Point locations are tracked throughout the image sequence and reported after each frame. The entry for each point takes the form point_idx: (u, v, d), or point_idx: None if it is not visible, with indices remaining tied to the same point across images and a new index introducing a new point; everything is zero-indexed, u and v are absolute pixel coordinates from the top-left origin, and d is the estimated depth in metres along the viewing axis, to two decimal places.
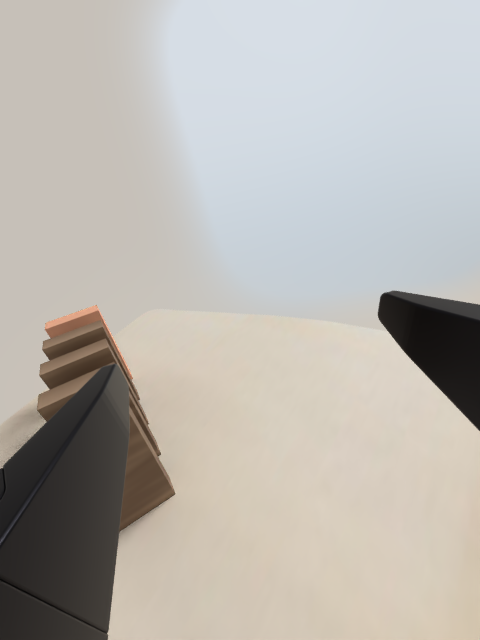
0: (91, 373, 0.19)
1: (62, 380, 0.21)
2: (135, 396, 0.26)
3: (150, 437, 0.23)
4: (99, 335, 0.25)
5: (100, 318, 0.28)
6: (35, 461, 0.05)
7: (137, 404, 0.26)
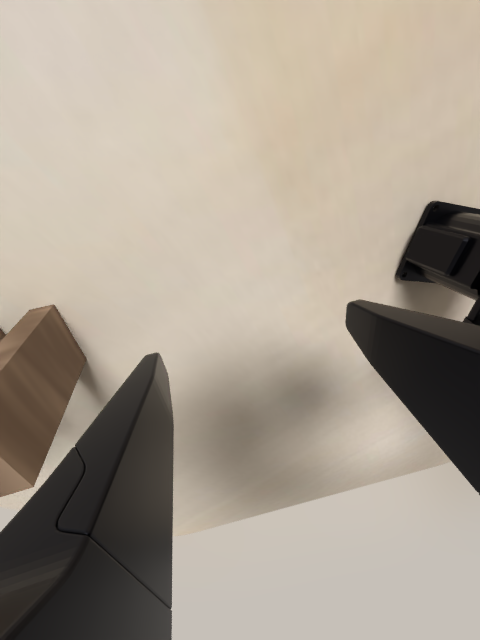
0: None
1: None
2: None
3: None
4: None
5: None
6: (107, 440, 0.05)
7: None
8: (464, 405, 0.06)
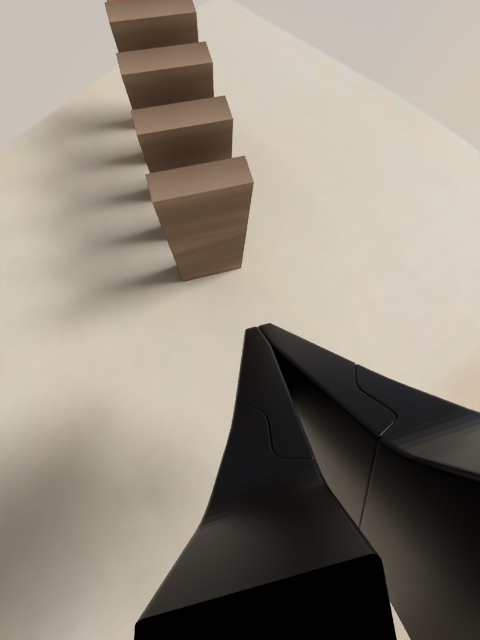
0: (196, 103, 0.14)
1: (146, 95, 0.16)
2: None
3: None
4: (188, 29, 0.16)
5: None
6: (269, 392, 0.05)
7: None
8: (333, 448, 0.06)
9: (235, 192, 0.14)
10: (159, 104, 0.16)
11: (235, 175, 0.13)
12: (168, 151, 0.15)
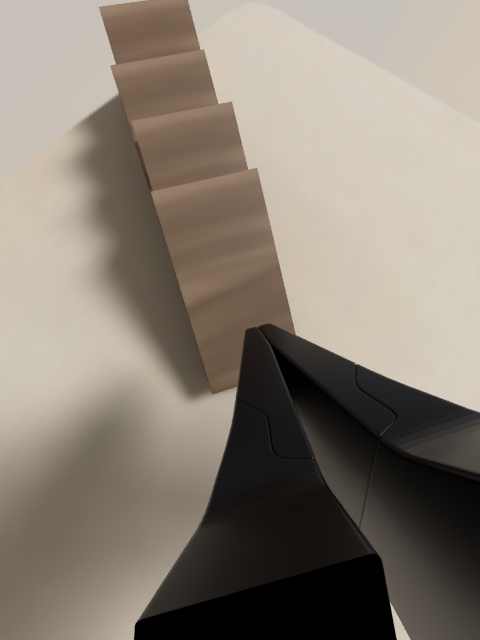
0: None
1: (137, 87, 0.14)
2: None
3: None
4: (180, 10, 0.16)
5: None
6: (269, 392, 0.05)
7: None
8: (333, 448, 0.06)
9: (241, 183, 0.12)
10: (152, 97, 0.14)
11: None
12: (166, 144, 0.13)
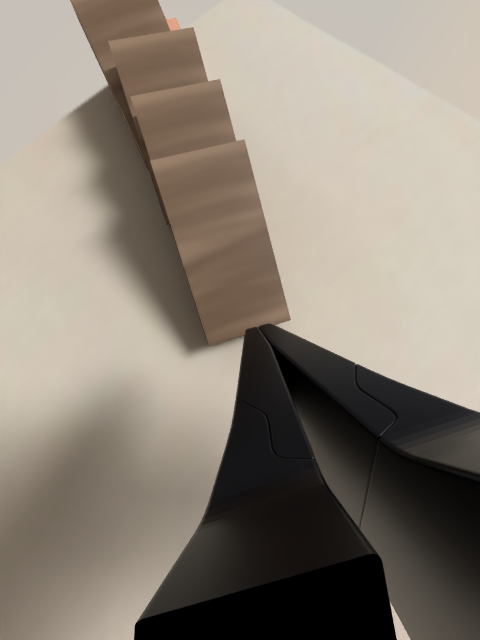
0: None
1: (133, 61, 0.16)
2: None
3: None
4: None
5: (177, 26, 0.21)
6: (269, 392, 0.05)
7: None
8: (333, 448, 0.06)
9: (230, 153, 0.14)
10: (146, 70, 0.16)
11: None
12: (162, 117, 0.15)
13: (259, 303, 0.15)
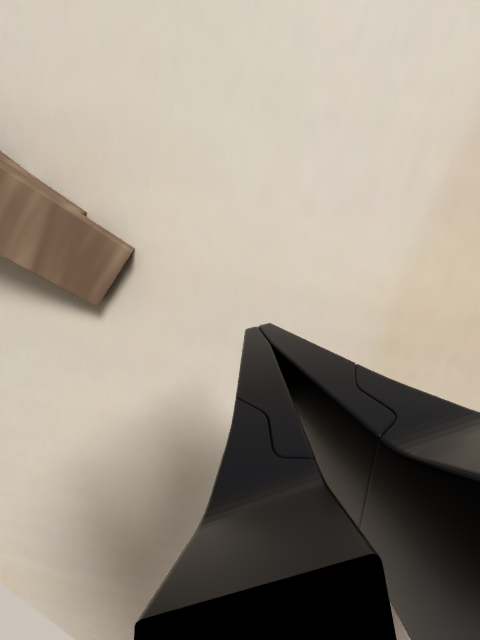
0: None
1: None
2: None
3: None
4: None
5: None
6: (269, 392, 0.05)
7: None
8: (333, 448, 0.06)
9: None
10: None
11: None
12: None
13: (100, 257, 0.19)
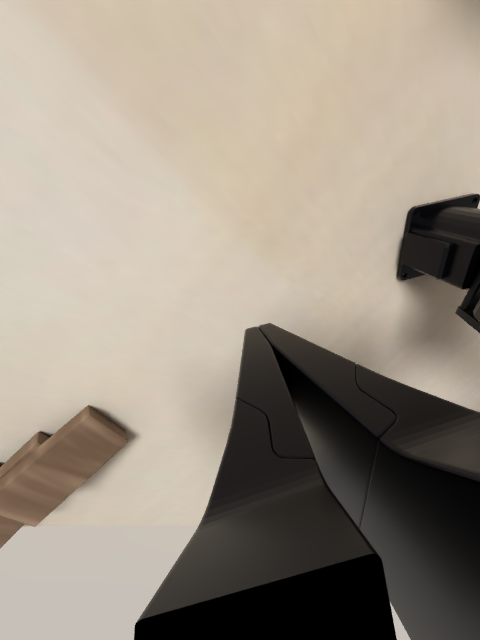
0: None
1: None
2: None
3: (12, 467, 0.23)
4: None
5: None
6: (269, 392, 0.05)
7: None
8: (333, 448, 0.06)
9: None
10: None
11: None
12: None
13: (88, 436, 0.24)
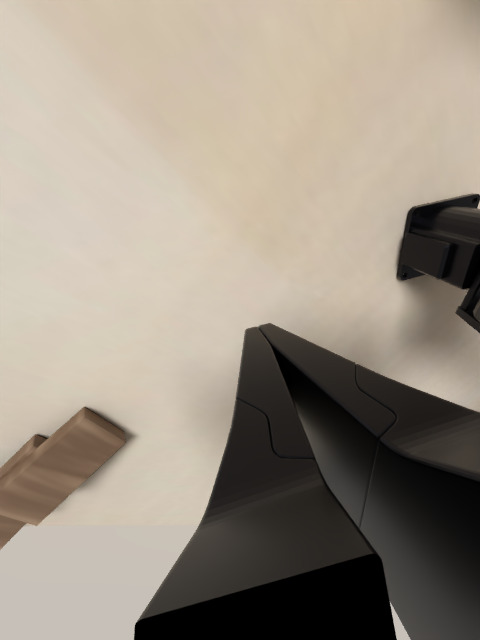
0: None
1: None
2: None
3: (9, 469, 0.23)
4: None
5: None
6: (269, 392, 0.05)
7: None
8: (333, 448, 0.06)
9: None
10: None
11: None
12: None
13: (84, 437, 0.24)
